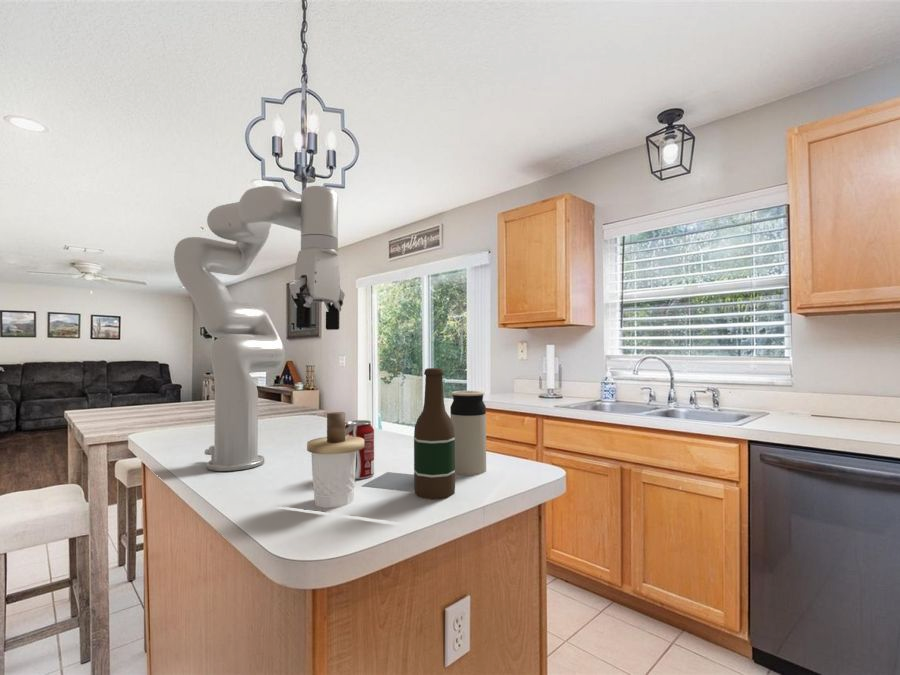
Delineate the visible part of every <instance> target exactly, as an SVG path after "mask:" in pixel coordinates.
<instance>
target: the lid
mask: <svg viewBox="0 0 900 675" xmlns="http://www.w3.org/2000/svg"><path fill="white" fill-rule="evenodd" d="M345 422H346V412H343V411H333V412H327V413H326V436H324V437H318V438H314V439H310V440H309V441H307V442H306V450H307V451H308V453H311V454H312V453H316V454H342V453H350V452H355V451H358V450H361V449H363V448H364V439H363V438H360V437H354V436H345V426H346V424H345Z"/></svg>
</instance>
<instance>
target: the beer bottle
mask: <svg viewBox="0 0 900 675" xmlns="http://www.w3.org/2000/svg"><path fill="white" fill-rule="evenodd" d="M444 374H445V372H444V370H443V369H442V368H440V367H437V368H435V367H432V368H431V367H430V368H426V369H425V368H424V372H423V375H425V380H424V381H425V382H424V384H425V385H424V399H423V402H424V403H423V408H422V411H421V413H420V414H419V416H418V418H417V420H416V423H415V425H414V432H413V433H414V434H413V475H414V489H415V490H414V494H415V495H416V497H417V498H418V499H425V500H430V501H431V500H432V501H434V500H444V499H448V498H450V497H452V496H453V495H455V493H456V491H455V490H456V489H455V488H456V473H455V434H454V426H453V424H452V421H451V416H450V415H449V414H448V413H447V412H446V407H445V406H446V405H445V398H444V383H443V382H444V380H443V375H444Z"/></svg>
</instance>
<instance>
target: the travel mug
mask: <svg viewBox="0 0 900 675" xmlns="http://www.w3.org/2000/svg"><path fill="white" fill-rule="evenodd" d="M451 395H452V400H453V401H452V403H451V405H450V411H449V412H450V415H449V416H450V419H451V421H452V424H453V426H454V434H455V475H463V476H472V475H473V476H476V475H482V474H484V473H486V472H487V410H486V409H487V406H486V405H485V402H484V401H483V400H484V395H485V392H484V391H482V390H455V391H451Z"/></svg>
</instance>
